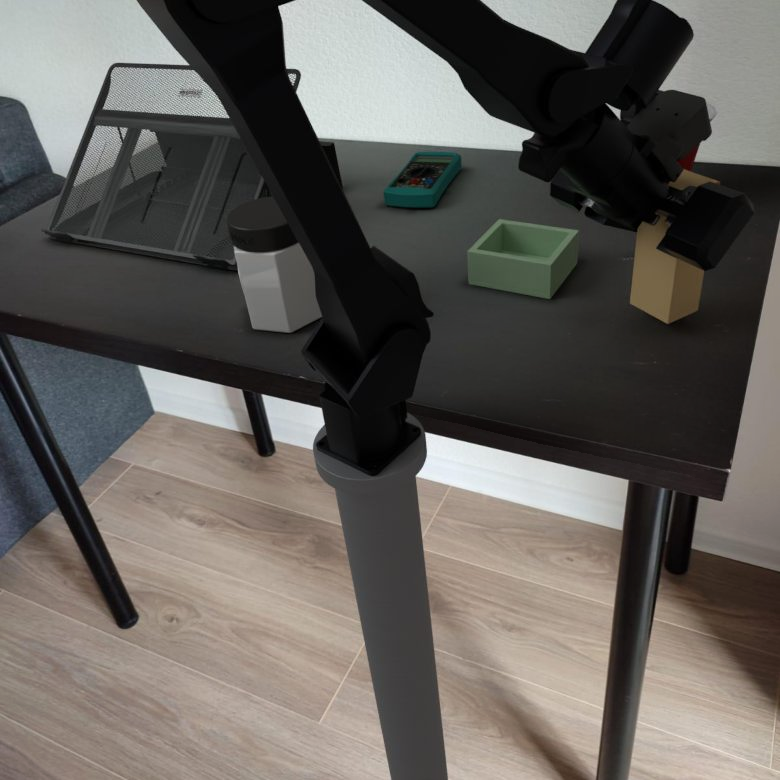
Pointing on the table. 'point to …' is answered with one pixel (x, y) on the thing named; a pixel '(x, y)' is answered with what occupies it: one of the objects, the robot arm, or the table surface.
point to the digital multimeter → (423, 180)
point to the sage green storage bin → (523, 258)
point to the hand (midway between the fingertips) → (682, 241)
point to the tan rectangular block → (665, 268)
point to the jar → (272, 268)
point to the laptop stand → (163, 174)
